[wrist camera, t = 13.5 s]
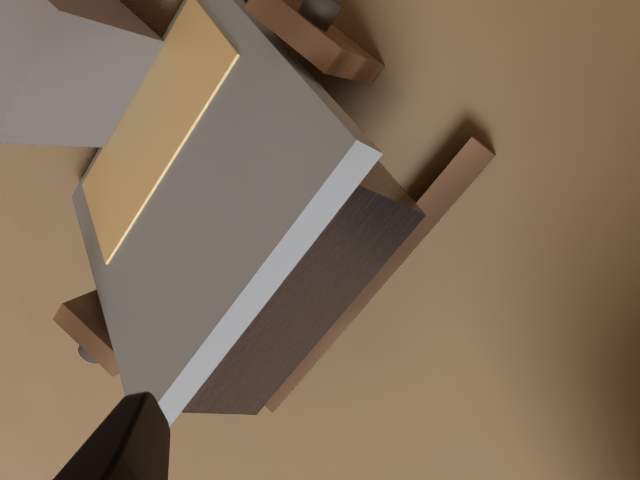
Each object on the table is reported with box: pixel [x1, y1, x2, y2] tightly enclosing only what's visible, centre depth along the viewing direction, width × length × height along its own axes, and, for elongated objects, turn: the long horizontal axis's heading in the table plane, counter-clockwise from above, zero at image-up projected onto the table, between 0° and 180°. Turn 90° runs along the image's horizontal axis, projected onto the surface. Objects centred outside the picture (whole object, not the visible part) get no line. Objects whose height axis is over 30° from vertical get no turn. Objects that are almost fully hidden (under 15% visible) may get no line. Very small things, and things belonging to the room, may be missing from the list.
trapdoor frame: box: [53, 0, 496, 413], centre depth 21 cm, size 8×15×6 cm, turn 143°
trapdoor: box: [72, 0, 426, 427], centre depth 21 cm, size 12×11×4 cm
